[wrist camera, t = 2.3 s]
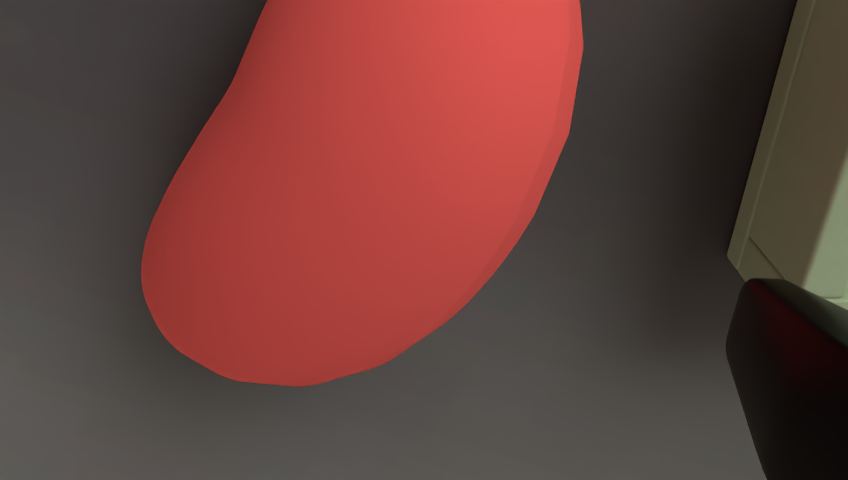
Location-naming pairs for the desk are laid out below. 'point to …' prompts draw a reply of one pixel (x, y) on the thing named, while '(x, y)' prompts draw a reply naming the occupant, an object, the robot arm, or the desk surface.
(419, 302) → the red bean shape
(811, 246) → the tray
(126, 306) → the desk surface
